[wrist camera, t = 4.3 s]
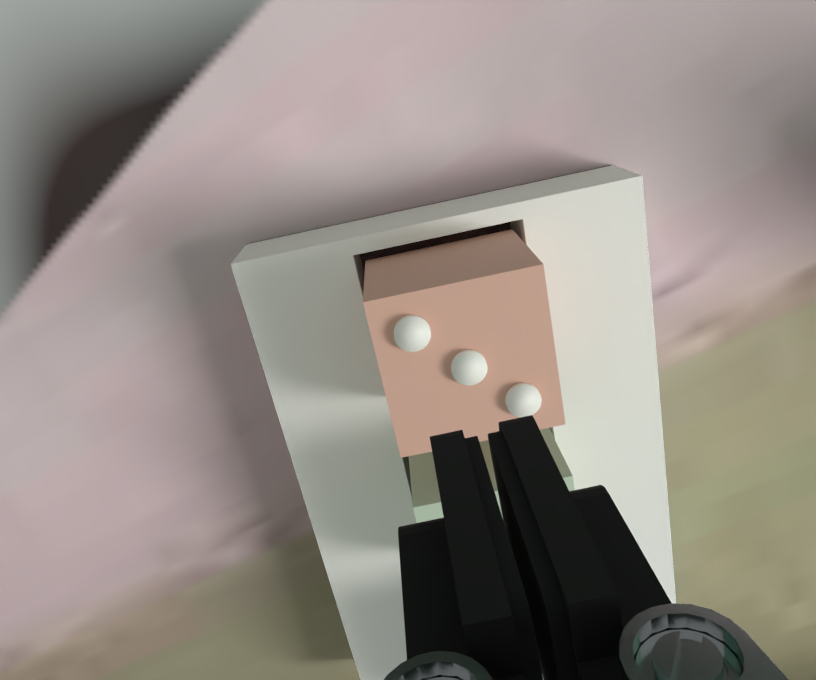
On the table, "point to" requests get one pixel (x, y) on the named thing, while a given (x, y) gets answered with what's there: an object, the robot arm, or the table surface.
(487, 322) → the pink three-dot die
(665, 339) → the table surface
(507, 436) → the robot arm
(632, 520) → the board
